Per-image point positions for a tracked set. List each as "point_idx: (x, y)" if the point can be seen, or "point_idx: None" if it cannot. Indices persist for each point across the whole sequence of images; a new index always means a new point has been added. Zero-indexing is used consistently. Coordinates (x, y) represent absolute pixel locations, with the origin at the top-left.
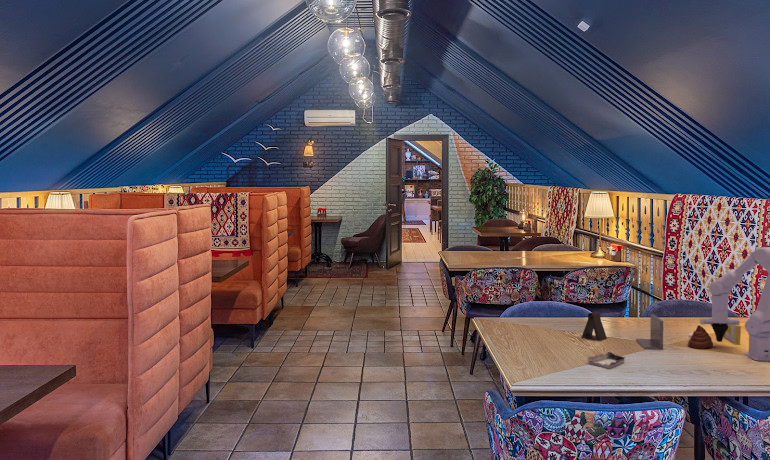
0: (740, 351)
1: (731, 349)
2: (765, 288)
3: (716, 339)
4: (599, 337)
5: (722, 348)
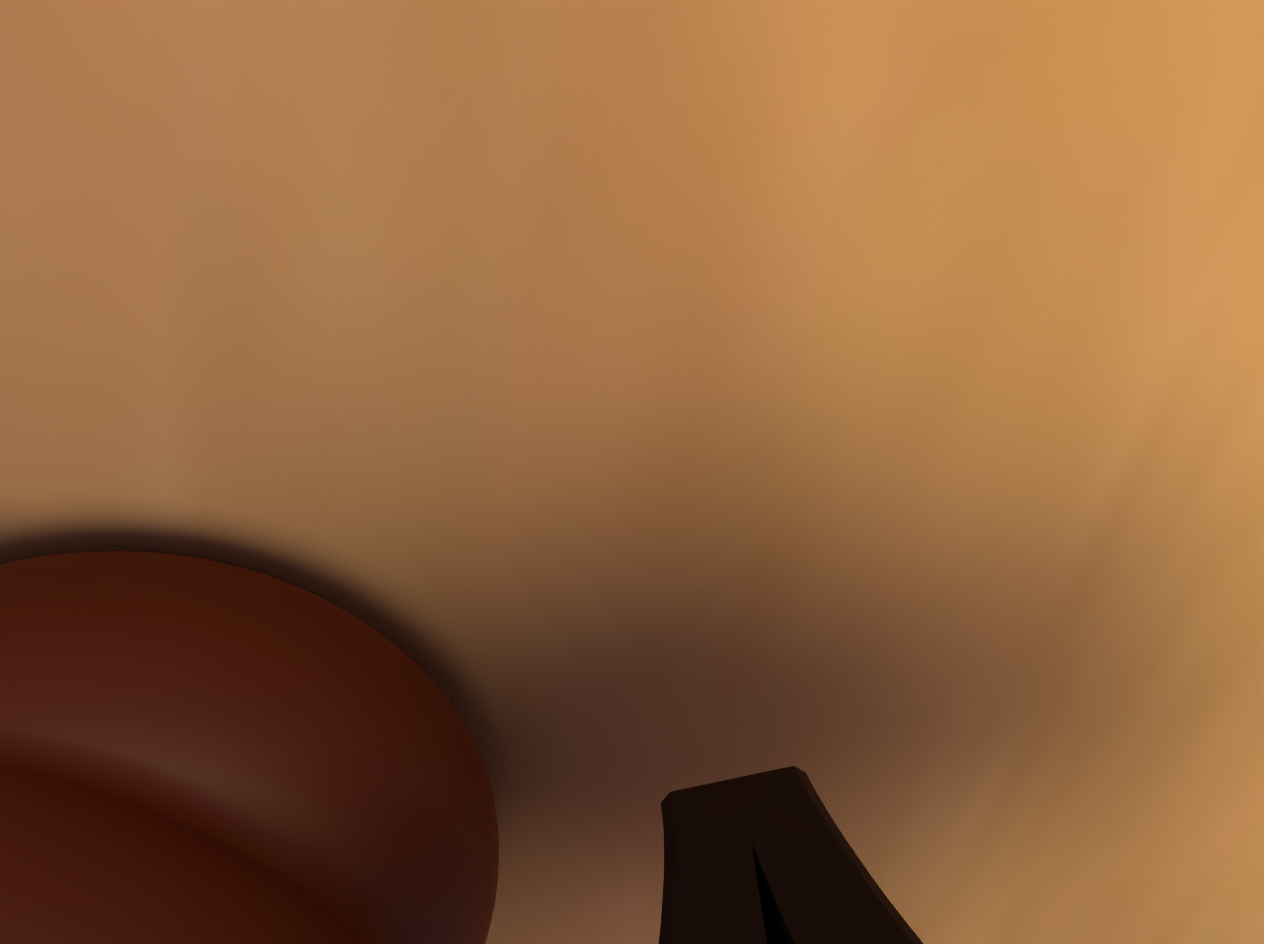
0: (1132, 915)
1: (981, 821)
2: None
3: (664, 828)
4: None
5: None
